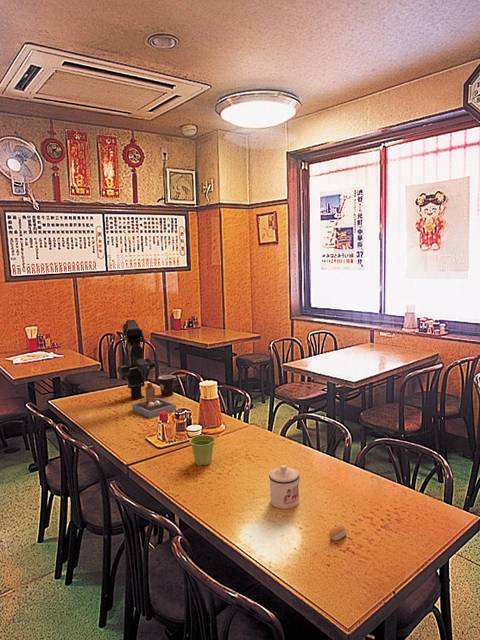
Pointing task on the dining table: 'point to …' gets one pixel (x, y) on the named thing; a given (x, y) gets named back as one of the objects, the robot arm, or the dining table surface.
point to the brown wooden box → (151, 398)
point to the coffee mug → (167, 385)
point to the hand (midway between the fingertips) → (137, 383)
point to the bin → (166, 407)
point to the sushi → (337, 532)
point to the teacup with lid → (284, 487)
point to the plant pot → (202, 449)
